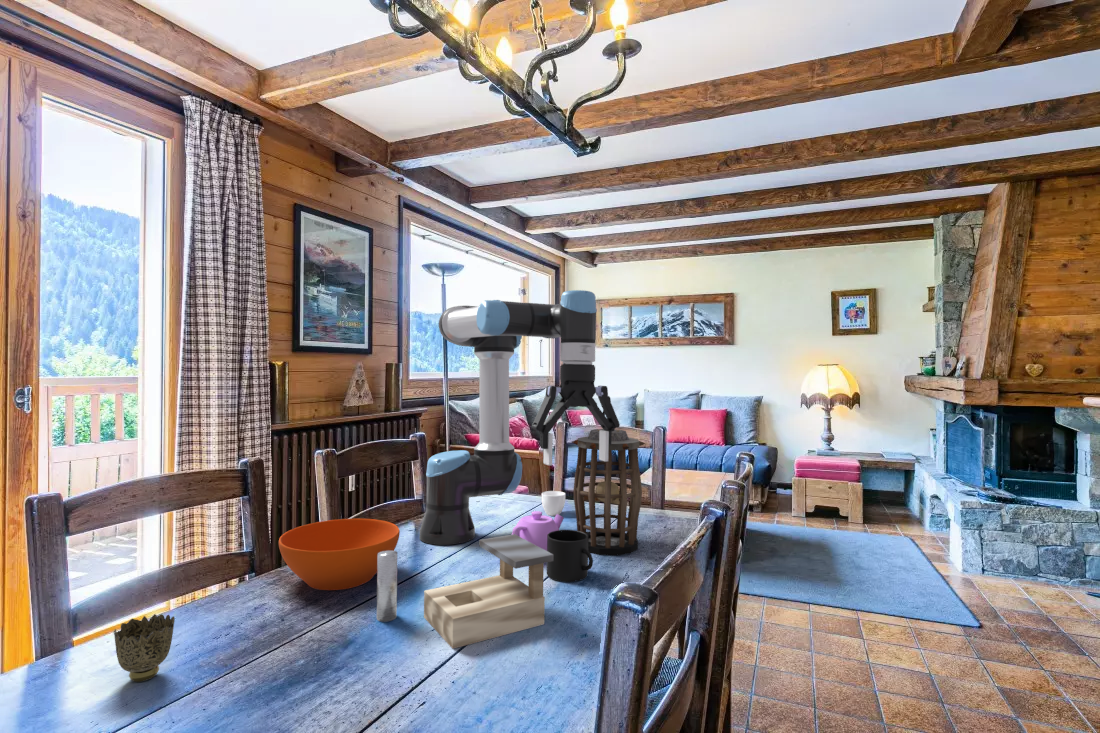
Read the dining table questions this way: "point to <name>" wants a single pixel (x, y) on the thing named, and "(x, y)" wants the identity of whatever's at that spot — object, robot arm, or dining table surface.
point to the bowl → (337, 551)
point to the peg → (386, 586)
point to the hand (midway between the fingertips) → (576, 462)
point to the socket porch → (491, 596)
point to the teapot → (537, 528)
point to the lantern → (609, 494)
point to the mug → (568, 555)
